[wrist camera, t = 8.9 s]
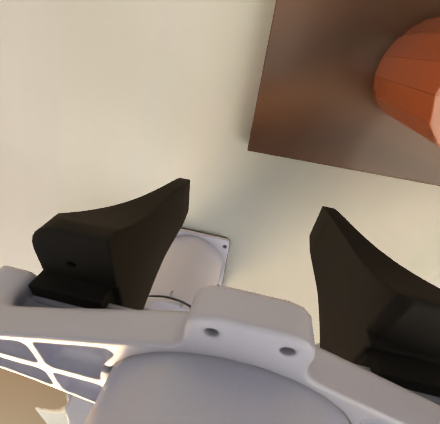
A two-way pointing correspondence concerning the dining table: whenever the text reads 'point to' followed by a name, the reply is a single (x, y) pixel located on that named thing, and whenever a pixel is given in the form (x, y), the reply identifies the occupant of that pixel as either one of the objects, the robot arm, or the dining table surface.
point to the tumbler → (412, 80)
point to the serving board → (338, 88)
